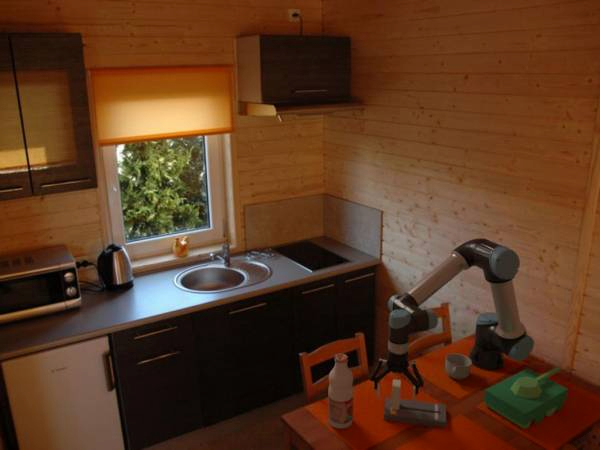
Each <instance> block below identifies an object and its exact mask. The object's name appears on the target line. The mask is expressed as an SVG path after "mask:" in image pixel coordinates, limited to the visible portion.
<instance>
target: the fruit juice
mask: <svg viewBox="0 0 600 450" xmlns="http://www.w3.org/2000/svg"><path fill="white" fill-rule="evenodd" d="M348 361H349V357H348V355H347V354H345V353H337V354H335V355H334V362H335V363H334V367H333V368H332V369H331V371H330V372H329V374H328V382H329V386H328V389H327V391H328V393H327V395H328V396H327V404H328V405H327V407H328V409H327V413H328V414H327V419H328V420H327V421H328V423H329V426H331V427H333V428H335V429H340V430H341V429H343V430H344V429H347V428H350V426H352V424H353V421H354V387H353V382H354V374H353V372H352V371H351V370H350V369H349V366H348Z"/></svg>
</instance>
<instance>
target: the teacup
mask: <svg viewBox="0 0 600 450" xmlns="http://www.w3.org/2000/svg"><path fill="white" fill-rule="evenodd" d="M444 363H445V365H444V368H445V372H446V374H448V376H449V377H451V378H452V379H454V380H463V379H466V378H467V377H468V376H469V375H470V373H471V368H472V365H473V364H472V361H471V359H470V358H469V357H468V356H467V355H465V354H461V353H452V352H451V353H449V354H447V355H446V356H445V362H444Z"/></svg>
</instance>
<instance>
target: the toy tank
mask: <svg viewBox="0 0 600 450" xmlns="http://www.w3.org/2000/svg"><path fill="white" fill-rule="evenodd" d="M561 371H562V366H560V365H557V366H556V367H553V368H552V369H550V370H548V371H545V373H542V374H541V373H538V372H536V371H534V370H532V369H531V368H525V369H523V370H521V371H519V372H518V373H515V374H513V375H511V376H509V377H507V378H505V379H504V380H502V381H500V382H497V383H496V384H494V385H492V386H490V387H488V388H486V389H484V396H483V402H485V404H484V405H485V406H486V407H487V408H489V409H491V410H492V411H493V412H495V413H497V414H498V415H500V416H502V417H503V418H504V419H507V420H508V421H510V422H512V423H513V424H514V425H516V426H518V427H519V428H521V429H523V430H526V429H527V428H529V427H530V426H531V423H532V422H534V423H535V424H539V423H541V422H542V421H543V420H544V418H545V416H546V417H551V416H552V415H553V414H555V411H559V410H561V409H562V408H563V406H564V405H565V402H566V401H567V397H568V392H569V391H568V390H569V389H568V388H567V387H565V386H563V385H561V384H559V383H558V382H555V381H554V380H551V379H550V377H552V376H553V375H555V374H557V373H559V372H561Z"/></svg>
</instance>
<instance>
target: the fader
mask: <svg viewBox="0 0 600 450" xmlns="http://www.w3.org/2000/svg"><path fill="white" fill-rule="evenodd" d="M401 383H402V380H400V379H392V387H391V398H392V403H391V409H394V410H399V406H400V399H401V387H402V386H401V385H402V384H401Z"/></svg>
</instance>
